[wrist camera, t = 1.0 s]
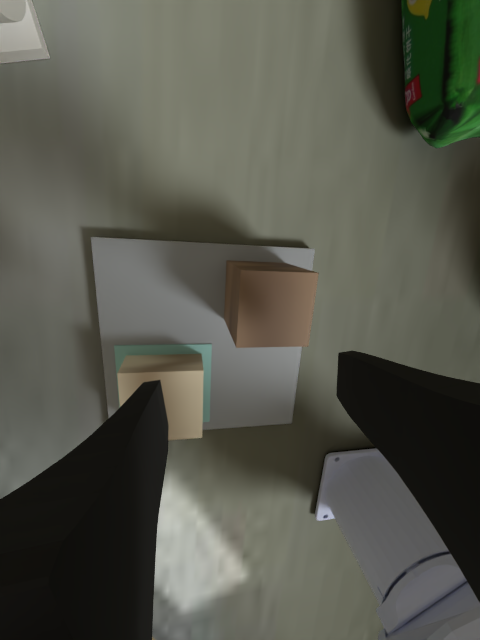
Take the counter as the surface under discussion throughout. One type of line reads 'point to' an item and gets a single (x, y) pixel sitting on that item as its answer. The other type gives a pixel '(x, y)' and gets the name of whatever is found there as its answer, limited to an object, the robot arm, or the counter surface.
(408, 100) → the snack package
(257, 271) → the walnut block
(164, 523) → the counter surface
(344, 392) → the robot arm
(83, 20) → the counter surface
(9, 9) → the headphone stand
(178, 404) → the base block
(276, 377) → the board
